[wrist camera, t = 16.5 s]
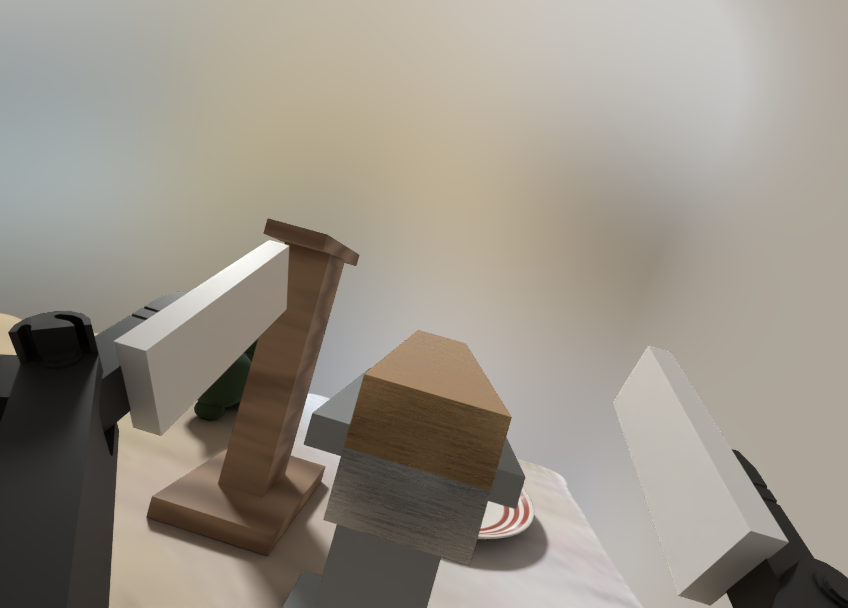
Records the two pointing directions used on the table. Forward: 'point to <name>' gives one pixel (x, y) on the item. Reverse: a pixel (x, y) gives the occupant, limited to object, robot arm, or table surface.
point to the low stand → (373, 556)
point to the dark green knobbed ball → (226, 388)
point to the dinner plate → (506, 519)
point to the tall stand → (266, 414)
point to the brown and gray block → (421, 449)
